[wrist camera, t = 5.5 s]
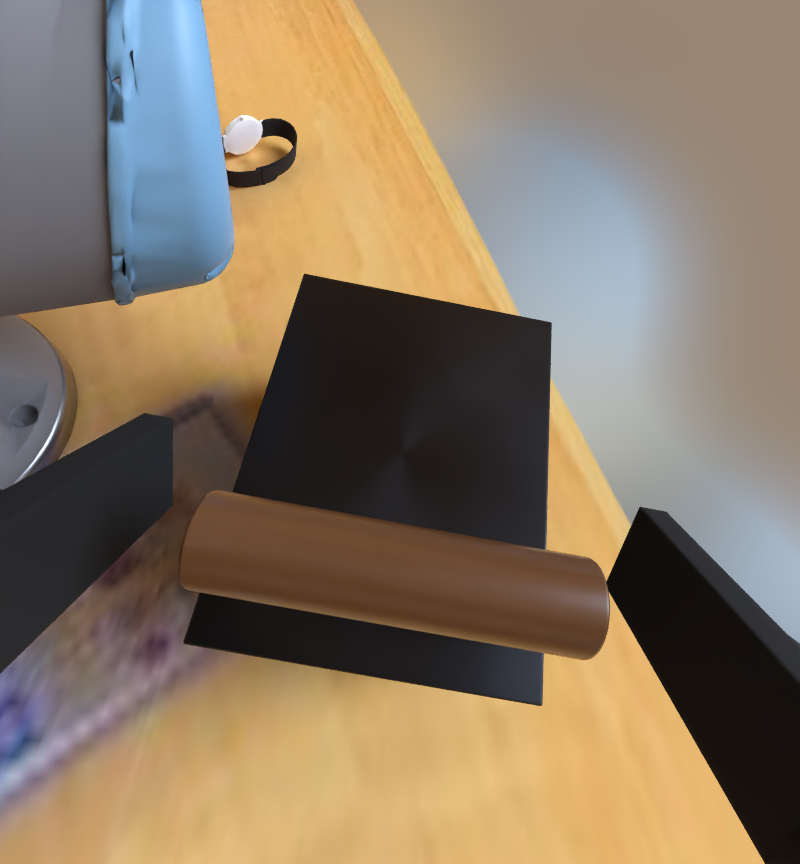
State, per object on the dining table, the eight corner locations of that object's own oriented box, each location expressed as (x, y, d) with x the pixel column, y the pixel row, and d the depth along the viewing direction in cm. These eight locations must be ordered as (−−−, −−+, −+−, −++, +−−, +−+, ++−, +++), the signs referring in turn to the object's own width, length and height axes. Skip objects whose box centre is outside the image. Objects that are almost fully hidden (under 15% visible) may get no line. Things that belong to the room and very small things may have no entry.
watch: (280, 136, 39) (273, 91, 36) (312, 167, 38) (308, 123, 35) (202, 169, 37) (187, 124, 33) (234, 203, 36) (222, 159, 32)
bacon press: (533, 702, 15) (723, 785, 7) (190, 643, 15) (14, 664, 7) (545, 332, 21) (653, 169, 14) (305, 285, 21) (278, 91, 13)
